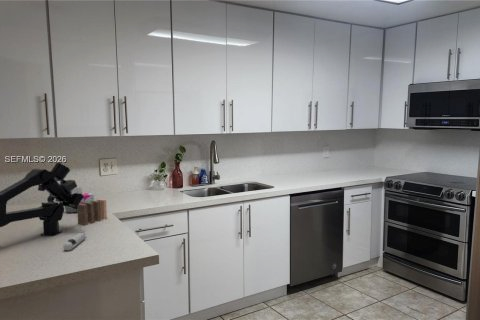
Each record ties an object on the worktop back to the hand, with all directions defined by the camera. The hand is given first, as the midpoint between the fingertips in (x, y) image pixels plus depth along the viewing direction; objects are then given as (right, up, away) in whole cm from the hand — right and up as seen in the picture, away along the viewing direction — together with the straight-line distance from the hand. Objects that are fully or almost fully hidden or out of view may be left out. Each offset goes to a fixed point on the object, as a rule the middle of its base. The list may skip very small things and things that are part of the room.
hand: (76, 208), depth 174 cm
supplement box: (-4, -7, +23) cm, 24 cm away
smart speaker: (-15, -6, +30) cm, 34 cm away
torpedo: (+11, -12, -26) cm, 30 cm away
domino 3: (+5, -8, +11) cm, 14 cm away
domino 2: (+3, -8, +7) cm, 11 cm away
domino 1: (+1, -8, +4) cm, 9 cm away
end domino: (+7, -7, +14) cm, 18 cm away
